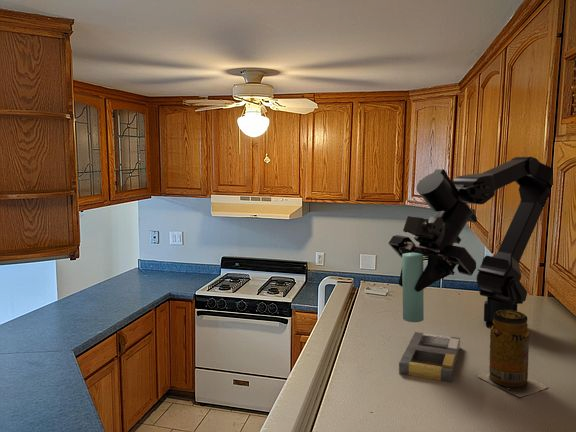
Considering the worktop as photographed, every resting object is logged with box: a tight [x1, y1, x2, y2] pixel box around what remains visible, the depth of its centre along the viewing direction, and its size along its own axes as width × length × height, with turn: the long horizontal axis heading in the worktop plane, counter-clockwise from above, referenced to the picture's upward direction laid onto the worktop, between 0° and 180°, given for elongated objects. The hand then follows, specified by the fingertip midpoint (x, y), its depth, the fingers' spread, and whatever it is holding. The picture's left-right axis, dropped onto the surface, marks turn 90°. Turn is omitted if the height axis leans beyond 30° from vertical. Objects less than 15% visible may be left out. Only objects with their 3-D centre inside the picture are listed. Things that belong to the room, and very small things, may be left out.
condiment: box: [477, 310, 549, 398], centre depth 78 cm, size 7×8×12 cm
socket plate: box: [398, 331, 461, 383], centre depth 89 cm, size 9×16×2 cm, turn 154°
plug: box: [401, 253, 425, 323], centre depth 91 cm, size 4×4×13 cm
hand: (408, 287), depth 90 cm, fingers closed on plug, 4 cm apart
